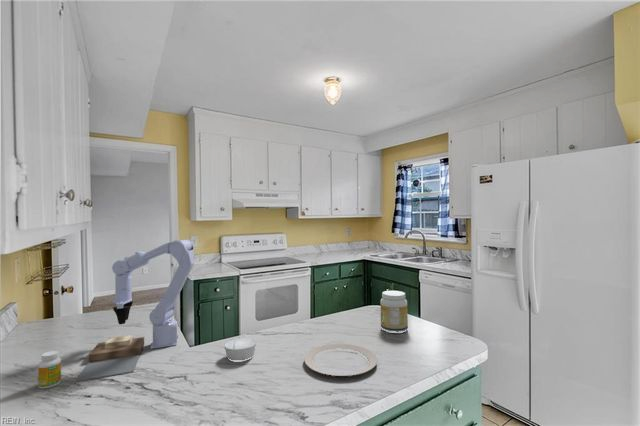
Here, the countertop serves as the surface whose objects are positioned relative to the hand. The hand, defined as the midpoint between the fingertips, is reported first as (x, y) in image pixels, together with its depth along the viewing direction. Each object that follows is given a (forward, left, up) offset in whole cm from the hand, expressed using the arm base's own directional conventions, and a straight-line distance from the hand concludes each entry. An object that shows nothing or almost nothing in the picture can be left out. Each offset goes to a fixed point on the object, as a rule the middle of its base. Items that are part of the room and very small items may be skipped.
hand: (123, 321), depth 130 cm
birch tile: (0, +8, -6) cm, 10 cm away
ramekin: (-43, +32, -10) cm, 54 cm away
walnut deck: (0, +9, -9) cm, 13 cm away
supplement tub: (-112, +31, -10) cm, 117 cm away
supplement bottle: (+15, +28, -10) cm, 33 cm away
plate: (-75, +51, -10) cm, 91 cm away
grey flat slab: (0, +22, -9) cm, 24 cm away
